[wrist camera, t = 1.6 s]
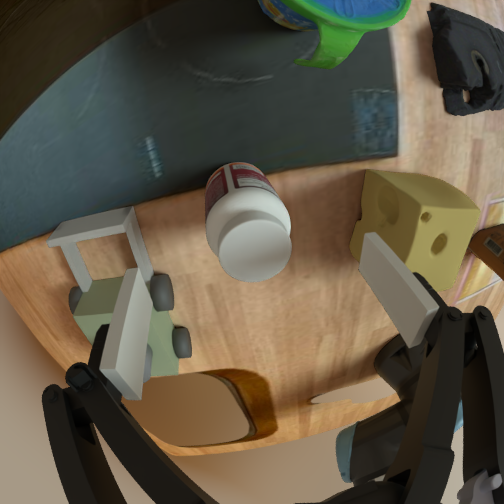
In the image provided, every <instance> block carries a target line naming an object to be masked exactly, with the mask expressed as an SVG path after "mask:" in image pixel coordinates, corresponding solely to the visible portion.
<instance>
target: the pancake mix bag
mask: <svg viewBox="0 0 504 504" xmlns="http://www.w3.org/2000/svg"><path fill="white" fill-rule="evenodd" d="M467 248H468V249H469V250H471V252H472V253H473V254H474V255H475V256H476V257H478V258H479V259H481V260H482V261H483V262H484V263H485V264H486V265H487V266H488V267H489V268H490V269H492V270H493V271H494V272H495V273H496V274H497V275H498V276H499V277H500V278H501V279H502V280H503V281H504V224H502V225H498V226H495V227H492V228H488V229H484V230H480V231H479V232H478V233H477V234H476V235H475V236H474V237H473V238H472V240H471V241H470V243H469V244H468V247H467Z"/></svg>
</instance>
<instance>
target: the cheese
mask: <svg viewBox="0 0 504 504" xmlns="http://www.w3.org/2000/svg"><path fill="white" fill-rule="evenodd" d="M361 208H362V219H361V220H358V221H356V224H355V227H354V231H353V235H352V238H351V240H350V244H349V248H350V251H351V254H352V255H353V257H354V258H355V259H356V260H357V261H358V262H359V263H360V259H361V253H362V247H363V241H364V234H365V233H371V232H376V233H377V234H378V235H379V236H380V238H381V239H382V240H383V241H384V242H385V243H386V244H387V245H388V246H389V247H390V248H391V249H392V251H393V252H394V253H395V254H396V255H397V256H398V257H399V258H400V260H401V261H402V262H403V263H404V264H405V265H406V266H407V268H408V269H409V270H410V271H411V272H412V273H413V272H417V273H419V274H420V275H422V276H423V277H424V278H425V279H426V280H427V281H428V283H429V284H430V285H431V286H432V287H433V289H434V290H435V291H436V292H438V291H444V290H447V289H450V288H452V287H453V285H454V282H455V280H456V277H457V274H458V272H459V269H460V266H461V263H462V260H463V257H464V255H465V252H466V249H467V247H468V244H469V241H470V239H471V236H472V234H473V231H474V228H475V226H476V223H477V220H478V217H479V215H480V212H481V211H480V209H479V208H478V207H477V206H476V204H475V203H474V202H473V201H472V200H471V199H470V198H469V197H468V196H467V195H466V194H464V193H463V192H462V191H460V190H459V189H457V188H456V187H454V186H452V185H451V184H449V183H447V182H445V181H443V180H441V179H438V178H435V177H431V176H427V175H421V174H413V173H397V172H387V171H379V170H371V169H367V170H366V173H365V179H364V185H363V191H362V197H361Z"/></svg>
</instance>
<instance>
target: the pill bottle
mask: <svg viewBox="0 0 504 504" xmlns="http://www.w3.org/2000/svg"><path fill="white" fill-rule="evenodd" d="M205 224H206V237H207V241H208V244H209V246H210V248H211V249H212V251H213V252H214V253H215V255H216V256H217V257H219V261H220V264H221V266H222V268H223V269H224V271H225V272H226V273H227V274H229V275H230V276H231V277H233V278H235V279H237V280H240V281H244V282H260V281H264V280H267V279H269V278H271V277H273V276H275V275H276V274H278V273H279V272H280V271H281V270H282V269H283V268H284V267H285V266H286V264H287V263H288V261H289V259H290V256H291V252H292V244H291V239H290V237H289V235H290V230H291V223H290V217H289V214H288V211H287V209H286V207H285V205H284V204H283V202H282V201H281V199H280V198H279V196H278V195H277V193H276V191H275V190H274V188H273V187H272V185H271V184H270V182H269V181H268V179H267V178H266V176H265V175H264V174H263V173H262V172H261V171H260V170H259V169H258V168H257V167H255V166H253V165H251V164H248V163H243V162H234V163H229V164H226V165H224V166H222V167H220V168H219V169H217V170H216V171H215V172H214V173H213V174H212V176H211V177H210V179H209V180H208V182H207V185H206V189H205Z"/></svg>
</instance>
